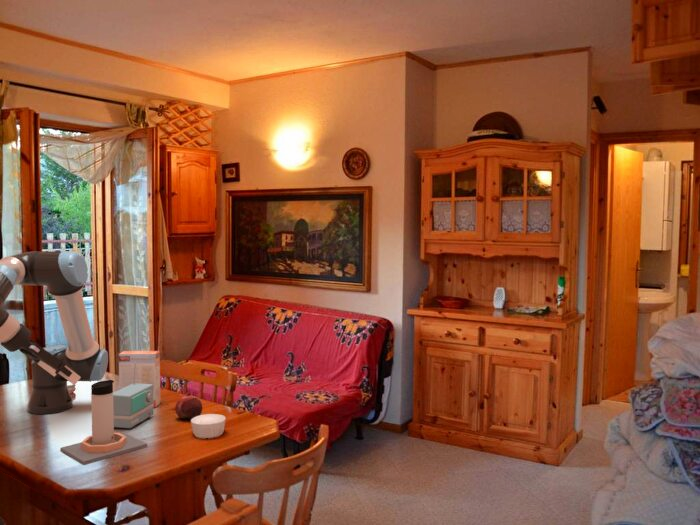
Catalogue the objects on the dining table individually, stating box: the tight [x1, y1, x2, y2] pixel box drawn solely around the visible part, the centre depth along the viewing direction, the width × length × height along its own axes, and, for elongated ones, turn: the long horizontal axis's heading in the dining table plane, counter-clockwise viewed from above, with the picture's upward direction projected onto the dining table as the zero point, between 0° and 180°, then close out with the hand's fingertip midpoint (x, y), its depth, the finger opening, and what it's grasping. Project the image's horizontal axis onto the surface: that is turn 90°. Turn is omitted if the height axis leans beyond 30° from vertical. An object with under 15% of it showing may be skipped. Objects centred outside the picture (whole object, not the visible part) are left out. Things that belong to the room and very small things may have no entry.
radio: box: [113, 362, 155, 429], centre depth 216 cm, size 16×9×20 cm, turn 169°
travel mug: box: [90, 379, 115, 445], centre depth 191 cm, size 6×7×20 cm
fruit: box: [174, 390, 203, 420], centre depth 222 cm, size 9×10×10 cm
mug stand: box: [59, 431, 148, 466], centre depth 192 cm, size 16×20×3 cm
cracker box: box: [118, 350, 161, 408], centre depth 237 cm, size 14×6×21 cm, turn 89°
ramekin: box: [190, 413, 227, 439], centre depth 206 cm, size 11×11×5 cm
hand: (67, 376), depth 182 cm, fingers open, 13 cm apart
